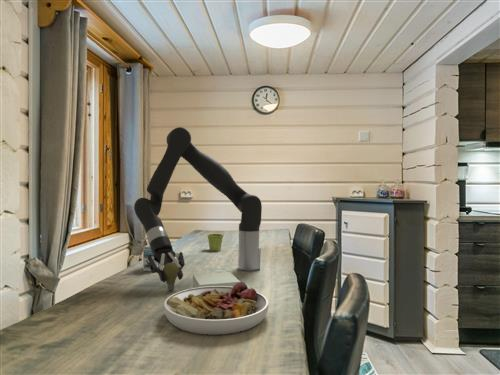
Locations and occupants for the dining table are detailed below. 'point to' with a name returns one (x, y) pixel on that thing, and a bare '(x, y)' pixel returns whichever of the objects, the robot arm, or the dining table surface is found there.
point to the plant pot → (215, 241)
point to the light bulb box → (147, 253)
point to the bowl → (216, 309)
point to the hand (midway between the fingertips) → (173, 279)
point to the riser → (214, 279)
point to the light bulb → (171, 274)
